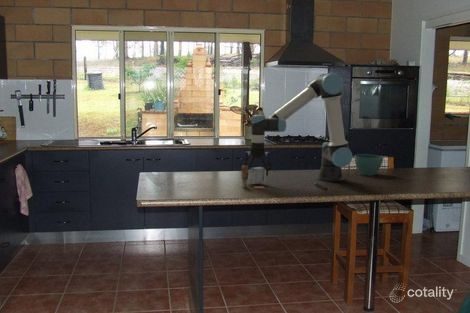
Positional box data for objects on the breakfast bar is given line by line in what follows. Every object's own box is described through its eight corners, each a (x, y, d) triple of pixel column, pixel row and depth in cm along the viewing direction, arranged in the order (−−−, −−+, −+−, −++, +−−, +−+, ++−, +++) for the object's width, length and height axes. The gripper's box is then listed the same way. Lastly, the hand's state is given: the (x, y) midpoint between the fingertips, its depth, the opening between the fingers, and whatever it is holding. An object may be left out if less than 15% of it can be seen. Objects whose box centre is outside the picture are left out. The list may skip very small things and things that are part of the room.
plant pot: (385, 174, 335) (386, 156, 333) (377, 178, 320) (378, 159, 318) (358, 171, 345) (359, 153, 343) (349, 175, 329) (350, 156, 328)
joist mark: (264, 187, 283) (264, 186, 283) (264, 188, 280) (264, 187, 280) (253, 187, 283) (253, 186, 283) (253, 188, 280) (253, 187, 280)
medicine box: (259, 181, 296) (259, 166, 294) (264, 182, 292) (264, 167, 291) (249, 182, 290) (249, 168, 289) (254, 184, 287) (254, 169, 286)
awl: (247, 186, 283) (248, 165, 282) (247, 188, 280) (248, 166, 278) (241, 186, 283) (242, 165, 282) (241, 187, 280) (242, 166, 278)
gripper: (276, 141, 292) (275, 180, 295) (239, 141, 292) (238, 179, 295) (277, 143, 284) (275, 182, 287) (239, 142, 285) (238, 182, 288)
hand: (256, 181), depth 291 cm, fingers closed on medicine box, 9 cm apart
